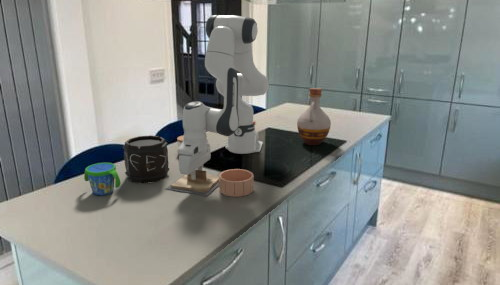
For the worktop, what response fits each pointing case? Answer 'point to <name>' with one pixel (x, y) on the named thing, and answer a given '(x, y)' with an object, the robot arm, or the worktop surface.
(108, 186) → the snack cup
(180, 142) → the lidded jar
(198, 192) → the mat
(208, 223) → the worktop surface
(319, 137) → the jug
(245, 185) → the bowl
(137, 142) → the wooden barrel
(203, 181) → the lid
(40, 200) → the worktop surface
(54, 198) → the worktop surface
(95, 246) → the worktop surface
